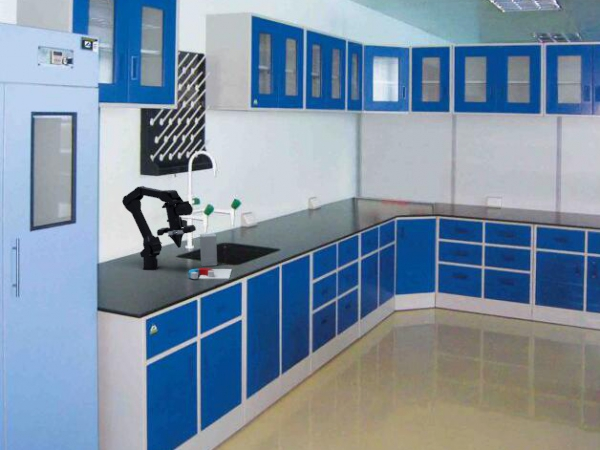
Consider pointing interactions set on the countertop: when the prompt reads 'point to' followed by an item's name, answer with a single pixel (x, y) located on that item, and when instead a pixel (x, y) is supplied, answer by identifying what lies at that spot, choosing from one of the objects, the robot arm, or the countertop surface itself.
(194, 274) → the magnet
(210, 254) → the skincare box
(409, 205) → the countertop surface
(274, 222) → the countertop surface
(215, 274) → the white paper sheet
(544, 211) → the countertop surface
